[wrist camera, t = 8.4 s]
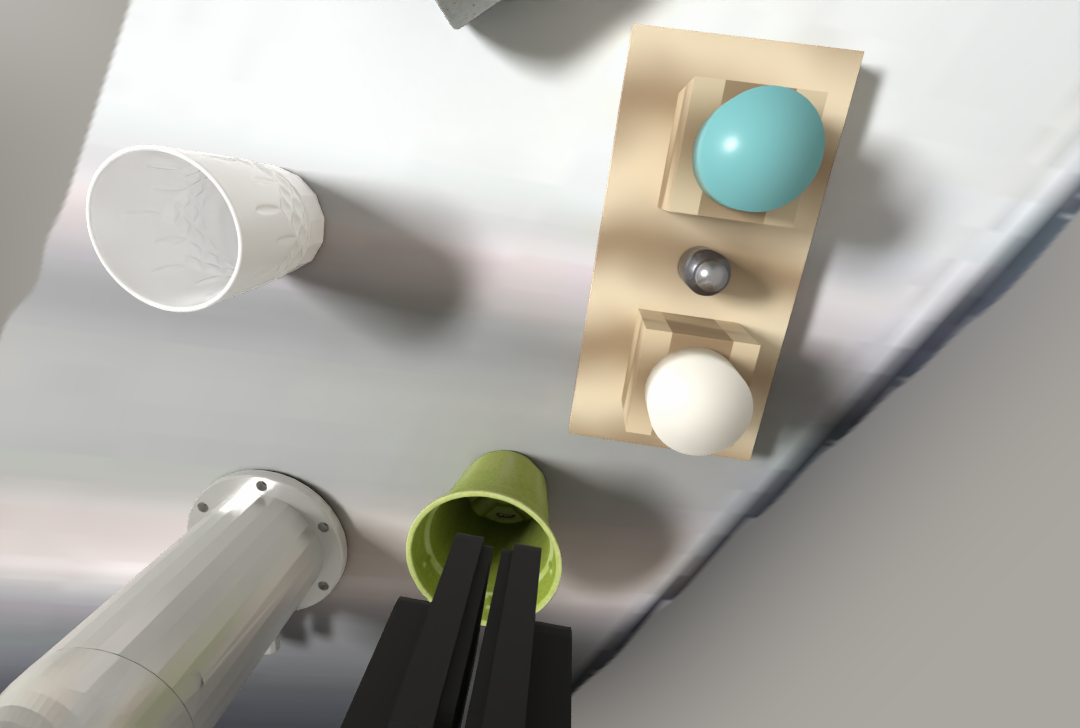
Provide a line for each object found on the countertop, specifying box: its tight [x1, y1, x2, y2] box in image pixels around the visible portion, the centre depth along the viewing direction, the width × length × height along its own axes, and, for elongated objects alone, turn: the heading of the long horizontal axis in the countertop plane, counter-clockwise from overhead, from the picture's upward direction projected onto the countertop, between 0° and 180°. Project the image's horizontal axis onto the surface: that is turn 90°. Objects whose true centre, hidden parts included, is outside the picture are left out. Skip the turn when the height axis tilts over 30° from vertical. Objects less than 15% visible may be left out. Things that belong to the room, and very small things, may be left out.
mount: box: [569, 24, 864, 461], centre depth 31 cm, size 24×12×7 cm, turn 173°
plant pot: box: [406, 450, 562, 626], centre depth 36 cm, size 9×9×9 cm
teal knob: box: [692, 85, 825, 212], centre depth 27 cm, size 5×5×8 cm
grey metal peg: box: [677, 246, 731, 296], centre depth 31 cm, size 2×2×4 cm
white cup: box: [86, 145, 325, 312], centre depth 31 cm, size 8×8×10 cm
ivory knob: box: [645, 347, 753, 456], centre depth 31 cm, size 5×5×8 cm
